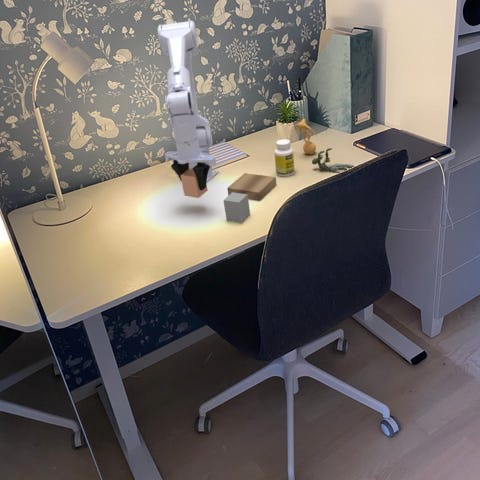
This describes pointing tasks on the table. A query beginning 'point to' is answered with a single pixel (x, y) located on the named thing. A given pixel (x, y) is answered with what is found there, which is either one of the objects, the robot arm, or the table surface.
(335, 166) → the zombie figurine
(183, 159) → the robot arm
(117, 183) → the table surface
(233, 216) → the medium grey block
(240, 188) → the walnut slab
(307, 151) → the figurine
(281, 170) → the supplement bottle
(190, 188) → the terracotta block
